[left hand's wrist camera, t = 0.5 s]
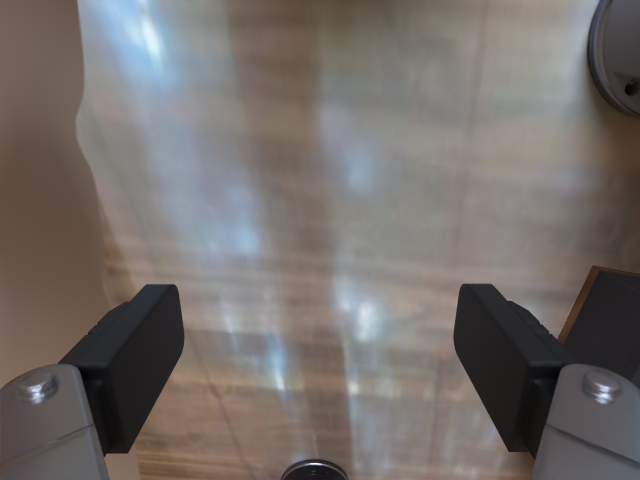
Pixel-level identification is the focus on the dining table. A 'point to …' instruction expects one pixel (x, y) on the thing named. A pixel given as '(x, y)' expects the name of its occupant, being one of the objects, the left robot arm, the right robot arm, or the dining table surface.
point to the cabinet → (606, 323)
